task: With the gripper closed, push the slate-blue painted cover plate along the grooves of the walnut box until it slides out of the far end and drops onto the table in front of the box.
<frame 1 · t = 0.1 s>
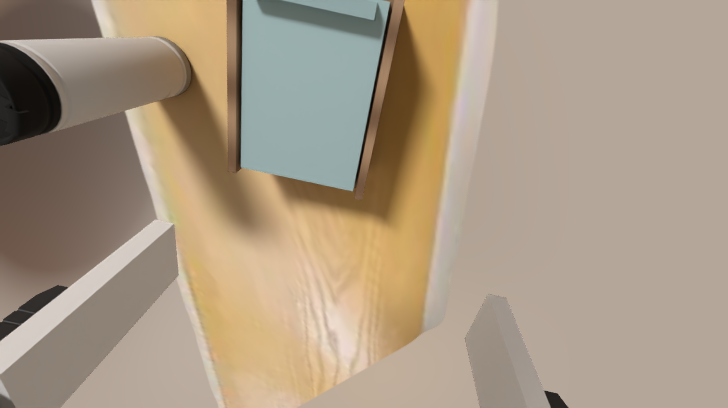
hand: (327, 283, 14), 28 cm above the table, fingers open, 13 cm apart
cover plate: (310, 92, 32), point 6 cm above the table, touching box
travel mug: (168, 67, 38), on the table
box: (323, 83, 37), on the table
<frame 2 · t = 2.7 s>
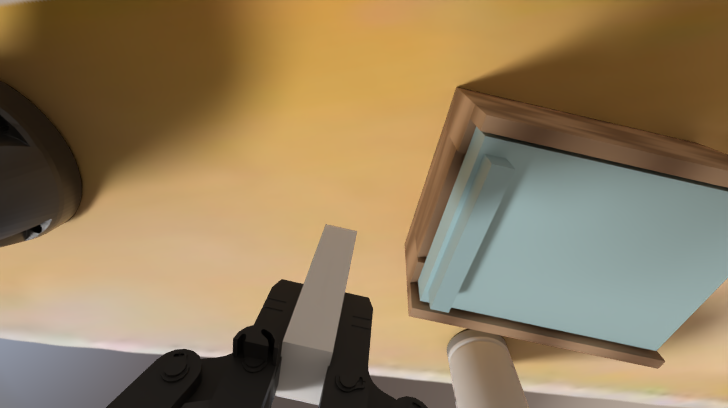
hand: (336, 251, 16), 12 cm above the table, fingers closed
cover plate: (568, 241, 22), point 6 cm above the table, touching box
travel mug: (476, 345, 36), on the table
box: (534, 199, 27), on the table
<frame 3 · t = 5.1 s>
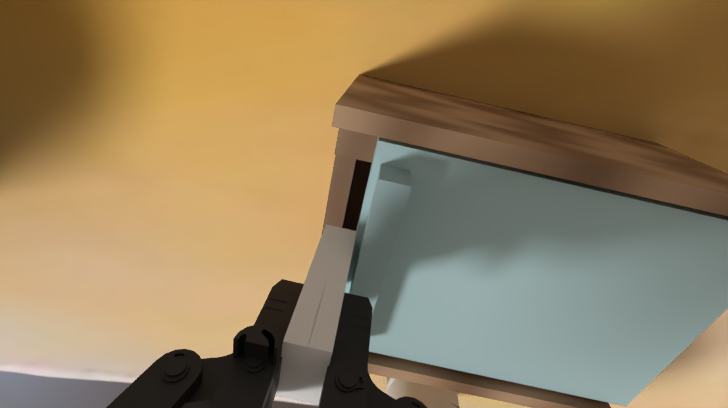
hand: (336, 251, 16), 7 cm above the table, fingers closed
cover plate: (512, 271, 17), point 6 cm above the table, touching box
travel mug: (421, 374, 31), on the table
box: (467, 210, 22), on the table
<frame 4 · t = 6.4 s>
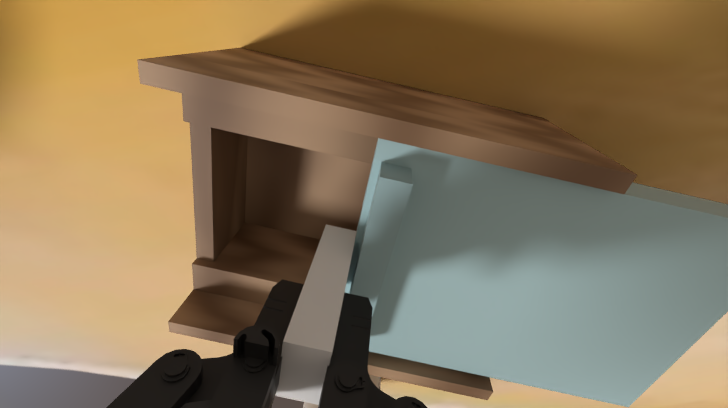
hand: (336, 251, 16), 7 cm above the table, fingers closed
cover plate: (514, 271, 17), point 6 cm above the table, touching box
box: (368, 189, 22), on the table
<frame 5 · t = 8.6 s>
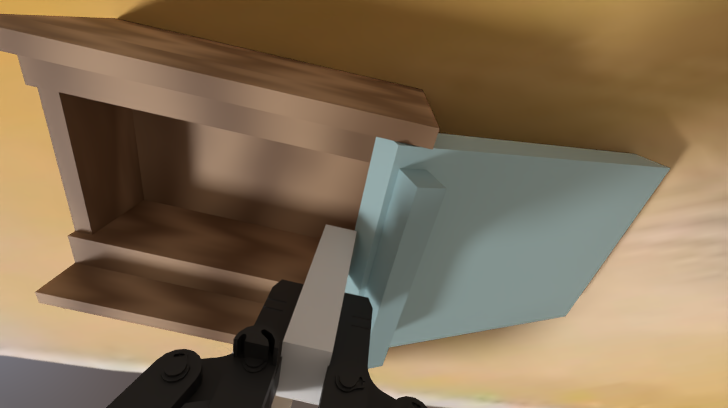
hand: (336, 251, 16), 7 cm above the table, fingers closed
cover plate: (487, 237, 19), point 3 cm above the table, tilted 24°, touching gripper
box: (263, 165, 22), on the table
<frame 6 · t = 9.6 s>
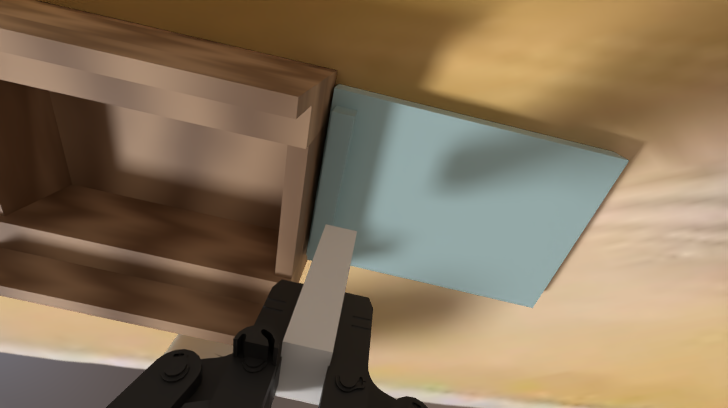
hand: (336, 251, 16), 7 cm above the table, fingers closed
cover plate: (443, 199, 23), on the table
travel mug: (221, 332, 31), on the table
box: (189, 149, 22), on the table
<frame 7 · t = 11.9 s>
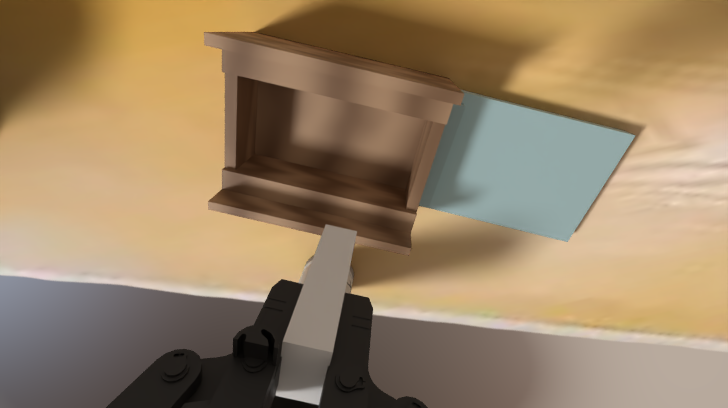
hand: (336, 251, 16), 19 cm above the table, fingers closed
cover plate: (508, 165, 33), on the table
travel mug: (330, 269, 42), on the table
box: (338, 129, 33), on the table
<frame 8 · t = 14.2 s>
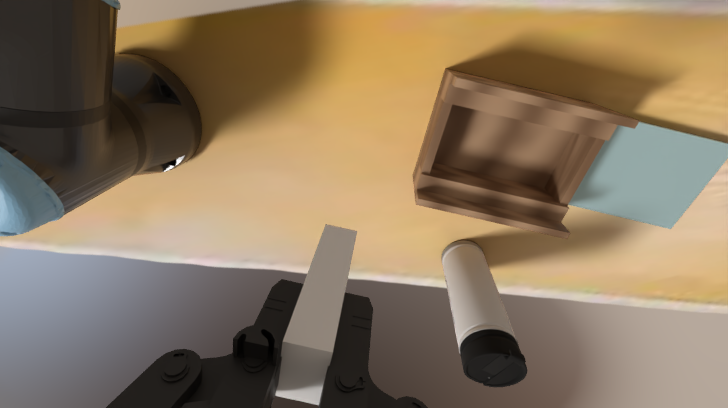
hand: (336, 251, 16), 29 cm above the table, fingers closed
cover plate: (627, 168, 43), on the table
travel mug: (462, 254, 51), on the table
box: (496, 142, 42), on the table
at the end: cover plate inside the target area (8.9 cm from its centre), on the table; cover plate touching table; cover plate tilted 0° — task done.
